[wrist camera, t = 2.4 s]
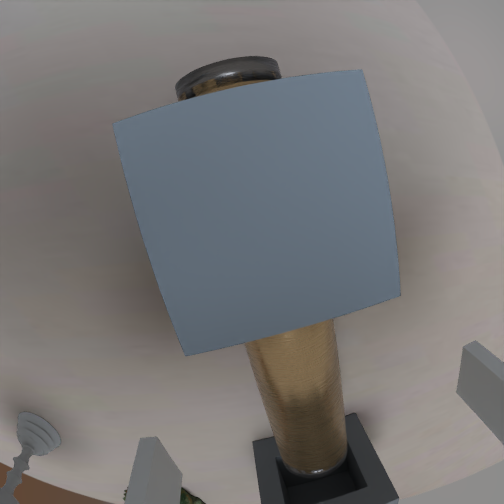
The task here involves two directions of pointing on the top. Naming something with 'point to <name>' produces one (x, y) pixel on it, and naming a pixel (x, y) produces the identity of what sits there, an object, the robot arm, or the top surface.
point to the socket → (329, 486)
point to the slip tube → (288, 334)
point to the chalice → (28, 450)
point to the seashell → (184, 498)
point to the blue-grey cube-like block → (263, 207)
